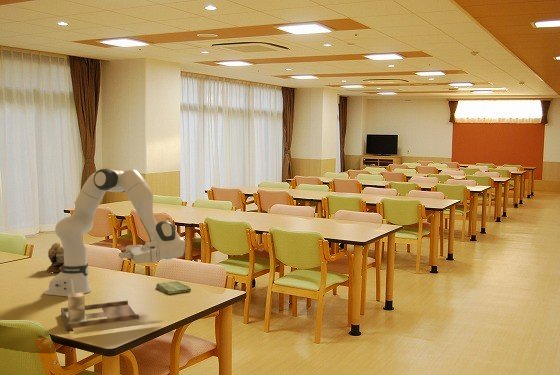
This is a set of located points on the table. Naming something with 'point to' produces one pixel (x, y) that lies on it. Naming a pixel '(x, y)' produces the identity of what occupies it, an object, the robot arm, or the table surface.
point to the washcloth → (173, 287)
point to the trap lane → (101, 314)
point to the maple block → (76, 306)
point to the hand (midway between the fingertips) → (119, 255)
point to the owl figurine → (56, 258)
